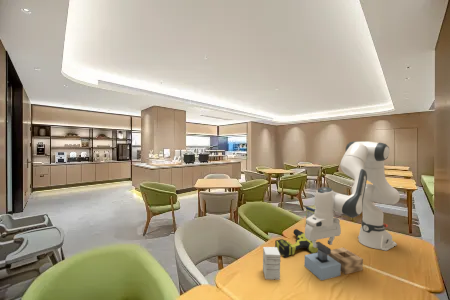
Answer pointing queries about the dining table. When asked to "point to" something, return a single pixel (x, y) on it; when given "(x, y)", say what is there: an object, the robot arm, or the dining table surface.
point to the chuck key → (323, 252)
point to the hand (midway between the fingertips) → (322, 245)
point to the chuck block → (322, 266)
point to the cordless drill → (289, 249)
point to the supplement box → (271, 263)
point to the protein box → (310, 211)
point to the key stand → (347, 260)
